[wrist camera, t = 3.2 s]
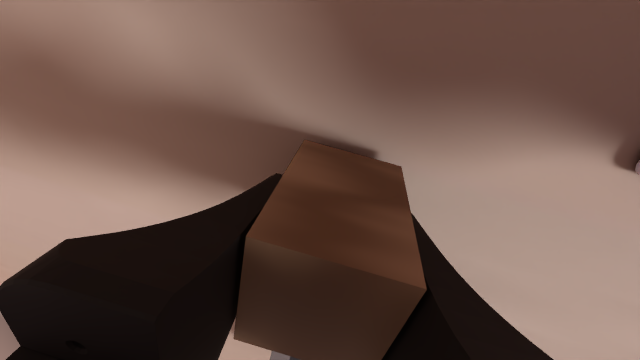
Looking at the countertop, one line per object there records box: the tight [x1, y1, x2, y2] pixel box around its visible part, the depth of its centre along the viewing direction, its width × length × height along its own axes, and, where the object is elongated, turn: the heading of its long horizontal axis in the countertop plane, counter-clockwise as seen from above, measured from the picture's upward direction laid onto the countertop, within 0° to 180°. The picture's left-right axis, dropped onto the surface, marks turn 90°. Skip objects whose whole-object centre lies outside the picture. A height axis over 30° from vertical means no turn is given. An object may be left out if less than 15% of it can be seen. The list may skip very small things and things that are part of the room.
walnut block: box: [234, 140, 427, 360], centre depth 10 cm, size 4×4×6 cm
